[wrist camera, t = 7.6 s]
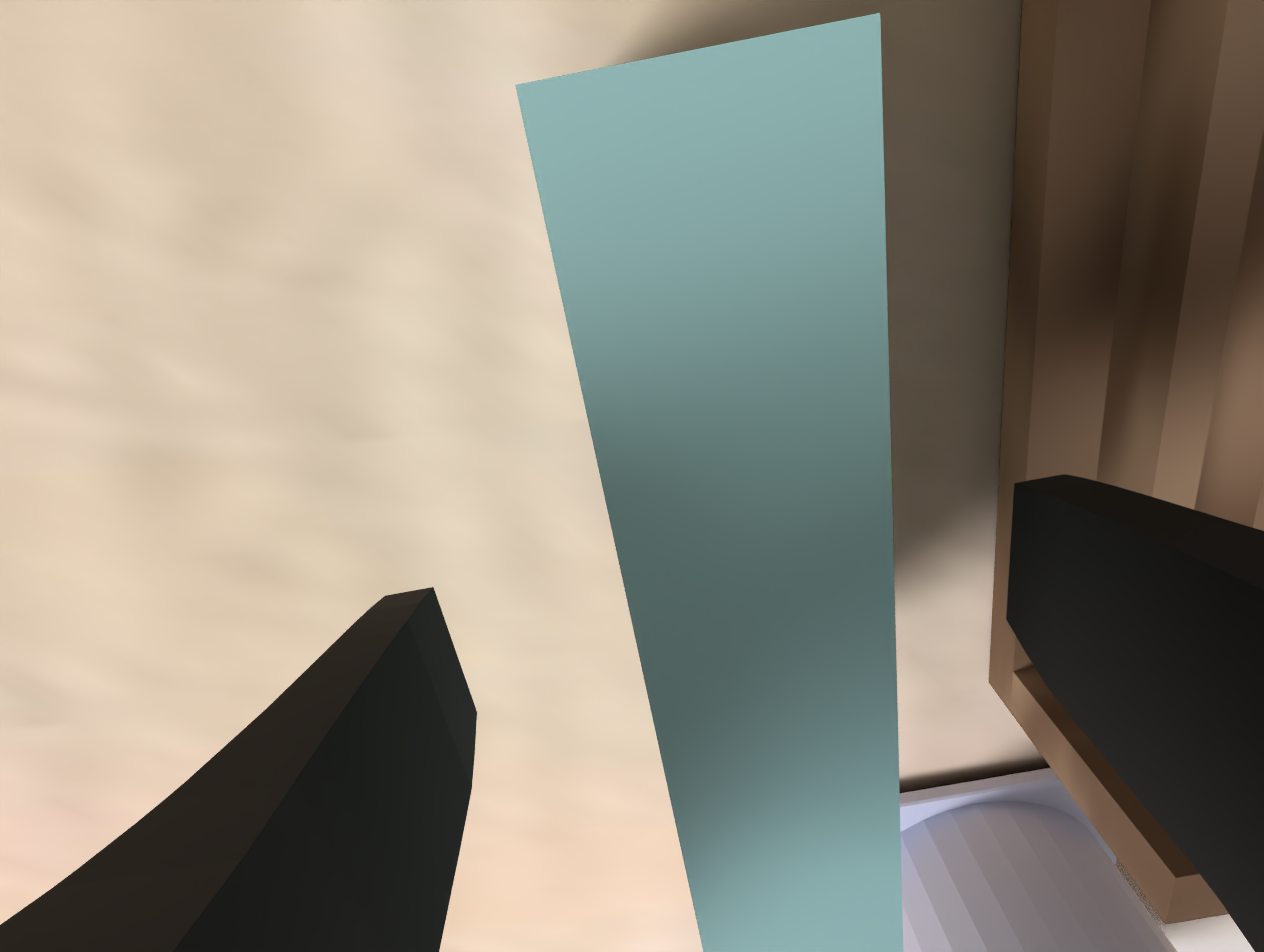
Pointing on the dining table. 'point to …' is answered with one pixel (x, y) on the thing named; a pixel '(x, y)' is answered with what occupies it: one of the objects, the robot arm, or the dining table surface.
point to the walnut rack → (1132, 320)
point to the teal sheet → (746, 454)
